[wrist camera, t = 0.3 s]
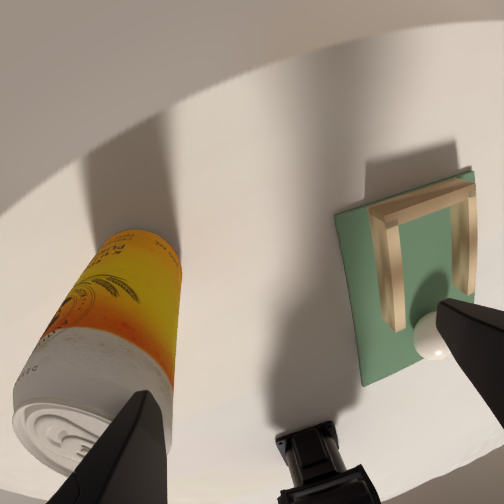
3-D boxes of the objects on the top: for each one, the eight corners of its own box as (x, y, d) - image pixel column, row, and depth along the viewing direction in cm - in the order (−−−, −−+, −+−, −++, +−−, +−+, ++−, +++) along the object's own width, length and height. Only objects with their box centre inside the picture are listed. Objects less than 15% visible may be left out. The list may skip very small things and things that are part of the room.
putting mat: (468, 330, 30) (470, 331, 29) (361, 384, 29) (363, 387, 29) (471, 170, 23) (474, 171, 22) (333, 215, 23) (336, 217, 22)
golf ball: (440, 331, 28) (465, 356, 24) (404, 349, 28) (427, 378, 24) (441, 295, 26) (470, 319, 22) (403, 313, 26) (430, 341, 22)
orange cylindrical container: (122, 208, 20) (11, 358, 6) (199, 255, 22) (205, 447, 8) (86, 278, 21) (-2, 446, 8) (156, 318, 23) (134, 504, 10)
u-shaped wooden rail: (458, 280, 26) (475, 291, 24) (381, 317, 26) (395, 332, 24) (455, 177, 22) (475, 183, 20) (366, 206, 22) (384, 215, 20)
